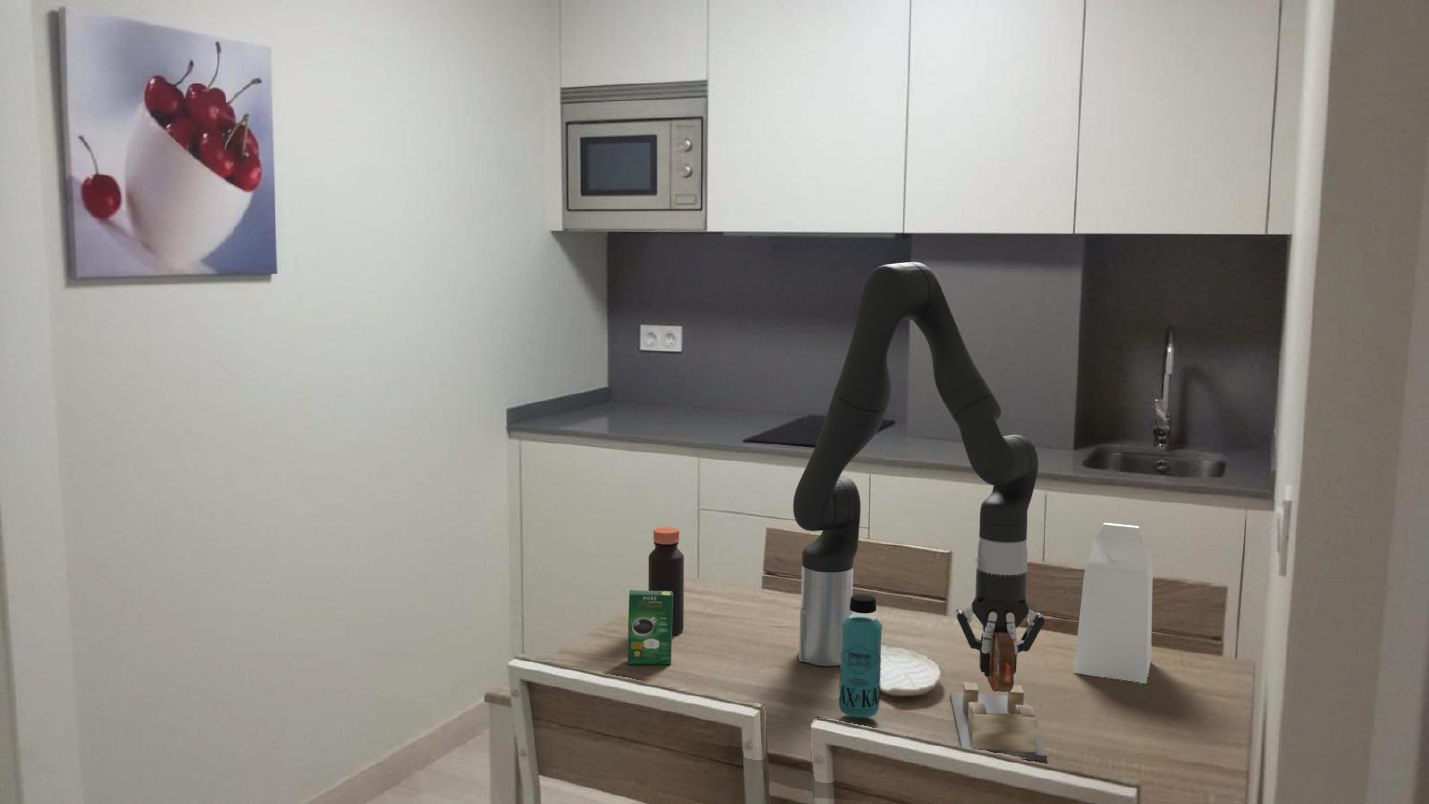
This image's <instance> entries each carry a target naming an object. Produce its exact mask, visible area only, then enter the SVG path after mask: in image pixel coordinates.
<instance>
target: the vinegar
mask: <svg viewBox="0 0 1429 804" xmlns="http://www.w3.org/2000/svg"><path fill="white" fill-rule="evenodd" d="M679 542H680V530H679V529H678V528H677V527H670V526H668V527H667V526H663V527H656V528H654V529H653V545H654V549H653V550H651V552H650V553H649V554H648V591H672V592H673V618H672V637H673V636H676V635H679V634H681V633H682V632H683V631H684V624H685V623H684V621H685V619H684V614H685V613H684V609H685V607H684V606H685V603H684V601H685V599H684V598H685V597H684V596H685V595H684V594H685V592H684V591H685V557H684V556H685V555H684V554H683V552H681V550H680V549H679V548H678V545H679V544H680V543H679Z"/></svg>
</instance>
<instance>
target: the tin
mask: <svg viewBox="0 0 1429 804" xmlns="http://www.w3.org/2000/svg"><path fill="white" fill-rule="evenodd" d="M989 651H990V676H985V677H986V679H987V681H988V683H989V685H990V688H991V690H992V692H994V693H995V692H1002V693H1008V692H1010V691H1011V690H1012V689H1013V686H1014V685H1015V674H1014V665H1015V647H1014V642H1013V640H1012V638H1011V636H1010V635H1008V633H1005V632H1002V631H997V632H994V633H993V638H992V640H991V645H990V650H989Z"/></svg>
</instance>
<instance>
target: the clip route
mask: <svg viewBox="0 0 1429 804" xmlns="http://www.w3.org/2000/svg"><path fill="white" fill-rule="evenodd" d="M962 689H963V690H962V692H951V691H950V692H949V698H950V702H951V707H952V708H951V709H952V711H953V716H954V717H953V718H954V721H955V726H956V731H957V736H958V740H960V741H959V745H961V746H964V747H969V748H973V749H978V750H986V751H989V752H993V753H1004V754H1009V755H1012V756H1018V757H1021V758H1026V759H1028V760H1027V761H1041V762H1044V761H1045V762H1047V761H1048V755H1047V752H1046V749H1045V746H1044V743H1043V741H1042V740H1041V736H1040V734H1039V731H1038V728H1037V727H1038V717H1037V716H1036V713H1035V710H1034V709H1033V706H1030V705H1029V704H1028V702H1027V700H1026V697H1025V691H1024V689H1023V686H1022V685H1020V684H1019V685H1018V684H1014V686H1013V689H1012V690H1011V691H1010V692H1007V695H1004V694H988V693H985V694H984V693H979V687H978V684H977V682H966V681H965V682H964V681H963V687H962ZM961 746H960V747H961Z"/></svg>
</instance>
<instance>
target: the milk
mask: <svg viewBox="0 0 1429 804" xmlns="http://www.w3.org/2000/svg"><path fill="white" fill-rule="evenodd" d="M1147 545H1148V544H1147V543H1146V539H1145V538H1144V535H1143V533H1142V530H1141V527H1140V525H1129V524H1120V523H1111V522H1103V524H1102V525H1101V528H1100V530H1099V532H1098V534H1097V535H1096V537H1095V540H1094V542H1093V545H1092V549H1091V550H1090V554H1089V556H1088V558H1087V562H1086V564H1085V565H1086V566H1085V569H1084V572H1083V581H1082V591H1081V600H1080V608H1079V609H1080V610H1079V618H1078V619H1079V620H1078V628H1077V637H1076V645H1075V646H1076V647H1075V654H1074V655H1075V656H1074V666H1073V673H1074V674H1079V675H1085V676H1090V677H1091V676H1092V677H1097V676H1098V678H1104V677H1111V678H1117V679H1122V680H1121V681H1123V680H1128V681H1127V682H1129V681H1134V682H1133V683H1135V682H1140V683H1139V684H1142V683H1145V684H1144V685H1147V684H1146V683H1148V679H1147V677H1149V674H1148V673H1150V669H1149V668H1151V665H1150V663H1152V627H1153V626H1152V624H1153V623H1152V621H1153V619H1152V618H1153V573H1154V572H1153V570H1154V568H1153V559H1152V556H1151V552H1150V551H1149V548H1148V546H1147Z"/></svg>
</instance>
